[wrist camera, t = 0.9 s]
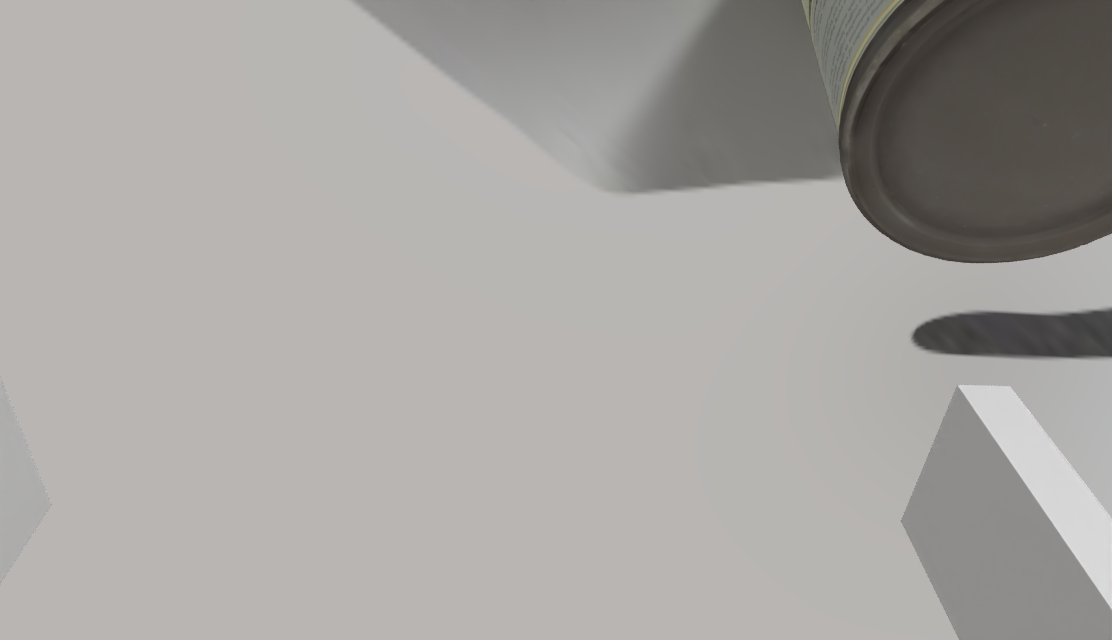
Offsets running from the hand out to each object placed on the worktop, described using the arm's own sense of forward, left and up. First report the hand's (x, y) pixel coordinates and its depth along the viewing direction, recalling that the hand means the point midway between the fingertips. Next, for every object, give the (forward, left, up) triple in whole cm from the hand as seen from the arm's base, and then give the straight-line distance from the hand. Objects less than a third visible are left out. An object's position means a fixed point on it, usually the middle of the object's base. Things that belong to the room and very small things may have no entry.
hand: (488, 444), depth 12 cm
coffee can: (-9, +10, -27) cm, 31 cm away
